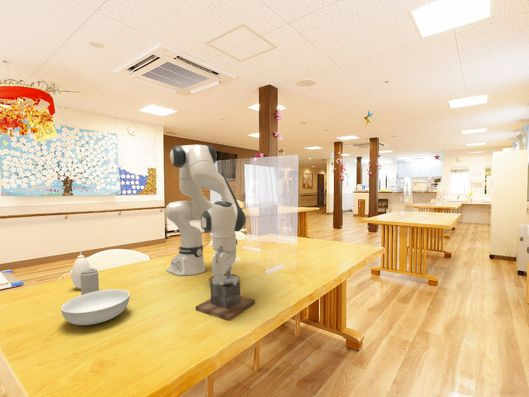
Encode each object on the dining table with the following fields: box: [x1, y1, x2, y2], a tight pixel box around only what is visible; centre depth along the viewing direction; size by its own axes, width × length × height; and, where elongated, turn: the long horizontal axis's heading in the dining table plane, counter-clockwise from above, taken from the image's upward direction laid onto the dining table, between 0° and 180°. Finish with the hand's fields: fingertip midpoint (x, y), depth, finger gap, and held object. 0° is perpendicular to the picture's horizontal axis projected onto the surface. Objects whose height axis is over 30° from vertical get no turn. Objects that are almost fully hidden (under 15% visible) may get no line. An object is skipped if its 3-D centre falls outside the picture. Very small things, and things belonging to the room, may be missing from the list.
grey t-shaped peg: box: [213, 275, 239, 287], centre depth 105 cm, size 9×3×10 cm, turn 82°
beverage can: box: [80, 268, 100, 296], centre depth 117 cm, size 6×6×12 cm
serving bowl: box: [60, 288, 131, 326], centre depth 98 cm, size 21×21×7 cm
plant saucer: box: [208, 273, 240, 285], centre depth 132 cm, size 15×15×3 cm
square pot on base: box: [195, 281, 256, 321], centre depth 105 cm, size 16×16×9 cm
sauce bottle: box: [71, 249, 92, 290], centre depth 129 cm, size 8×8×18 cm
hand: (225, 280), depth 105 cm, fingers open, 8 cm apart
